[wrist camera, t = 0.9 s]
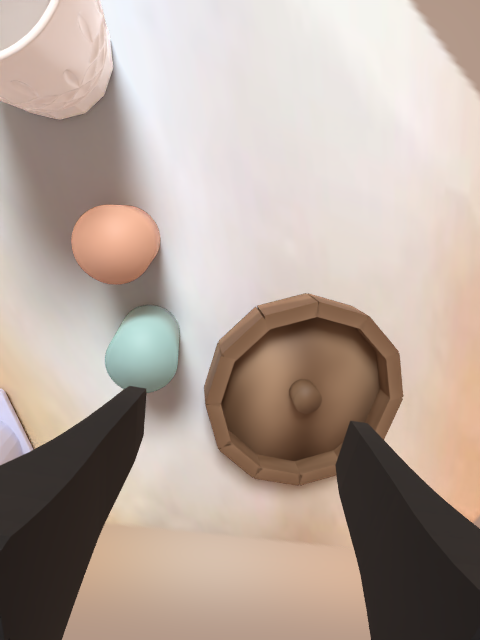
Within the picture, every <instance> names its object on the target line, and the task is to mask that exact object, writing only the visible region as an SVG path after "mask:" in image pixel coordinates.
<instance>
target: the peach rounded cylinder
mask: <svg viewBox="0 0 480 640" xmlns="http://www.w3.org/2000/svg"><path fill="white" fill-rule="evenodd" d="M71 244H72V250H73V254H74V256H75V259H76V261H77V262H78V264H79V266H80V267H81V268H82V269H83V270H84V271H85V272H86V273H87V274H88V275H89V276H91V277H92V278H94V279H96V280H98V281H100V282H103V283H107V284H125V283H128V282H131V281H133V280H135V279H137V278H138V277H140V276H141V275H142V274H143V273H144V272H145V271H146V269H147V268H148V266H149V265H150V263H151V262H152V260H153V259H154V257H155V256H156V254H157V252H158V250H159V246H160V233H159V230H158V227H157V225H156V223H155V221H154V220H153V219H152V218H151V216H150V215H149V214H147V213H146V212H145V211H143V210H141V209H140V208H137V207H134V206H128V205H100V206H97V207H94V208H92V209H90V210H88V211H87V212H85V213H84V214H83V215H82V216H81V217H80V218H79V219H78V221H77V222H76V224H75V226H74V229H73V232H72V238H71Z"/></svg>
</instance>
